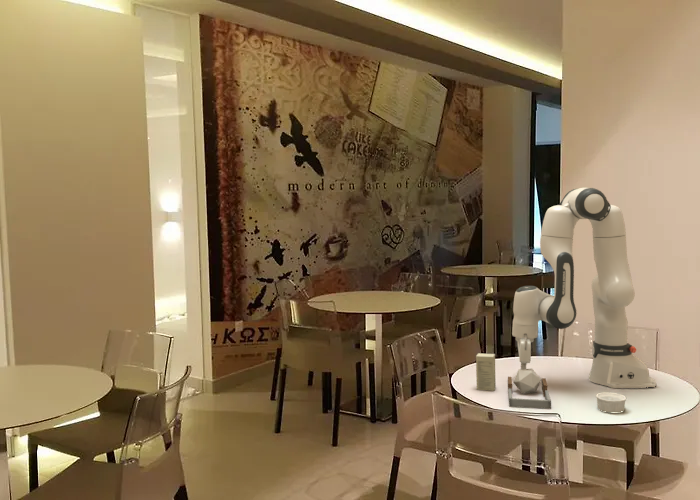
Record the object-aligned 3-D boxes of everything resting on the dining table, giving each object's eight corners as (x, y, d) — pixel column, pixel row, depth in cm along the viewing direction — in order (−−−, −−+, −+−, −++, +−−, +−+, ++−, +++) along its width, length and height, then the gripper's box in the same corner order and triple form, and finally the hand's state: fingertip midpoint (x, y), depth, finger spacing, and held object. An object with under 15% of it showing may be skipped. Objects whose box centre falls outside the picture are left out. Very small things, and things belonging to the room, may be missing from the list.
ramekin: (594, 412, 210) (595, 398, 210) (596, 403, 218) (597, 390, 218) (625, 415, 206) (625, 402, 206) (626, 407, 215) (626, 393, 214)
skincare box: (495, 387, 236) (496, 353, 235) (494, 391, 232) (494, 356, 230) (477, 386, 238) (477, 352, 237) (475, 389, 234) (475, 355, 233)
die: (538, 398, 225) (548, 373, 228) (516, 386, 225) (526, 361, 228) (527, 400, 233) (537, 375, 236) (506, 388, 233) (516, 363, 236)
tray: (547, 397, 224) (548, 390, 224) (551, 408, 213) (551, 401, 213) (508, 395, 227) (508, 388, 227) (509, 406, 216) (509, 398, 216)
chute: (545, 389, 233) (545, 378, 233) (547, 397, 225) (547, 385, 224) (507, 387, 236) (507, 376, 235) (508, 395, 227) (508, 383, 227)
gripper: (535, 338, 228) (534, 377, 230) (532, 325, 248) (531, 362, 250) (516, 337, 230) (515, 376, 231) (515, 324, 249) (513, 361, 251)
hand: (523, 368), depth 240 cm, fingers closed
